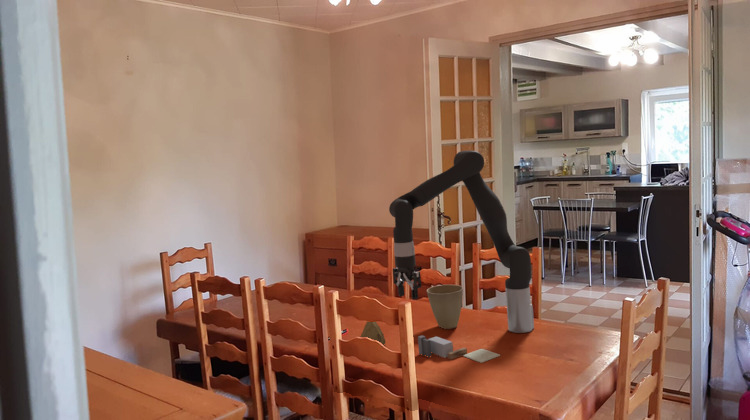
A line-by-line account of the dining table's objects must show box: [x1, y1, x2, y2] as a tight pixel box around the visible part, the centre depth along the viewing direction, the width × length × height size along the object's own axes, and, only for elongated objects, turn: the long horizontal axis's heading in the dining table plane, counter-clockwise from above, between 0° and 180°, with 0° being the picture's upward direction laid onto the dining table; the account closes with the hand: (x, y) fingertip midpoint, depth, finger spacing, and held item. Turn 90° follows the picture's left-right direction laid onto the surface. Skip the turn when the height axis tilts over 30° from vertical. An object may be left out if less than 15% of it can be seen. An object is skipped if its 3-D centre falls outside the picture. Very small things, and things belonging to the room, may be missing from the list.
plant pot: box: [426, 284, 464, 330], centre depth 234 cm, size 15×15×16 cm
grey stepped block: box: [417, 335, 432, 358], centre depth 204 cm, size 2×5×7 cm, turn 33°
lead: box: [427, 335, 454, 359], centre depth 205 cm, size 4×9×5 cm, turn 33°
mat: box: [462, 348, 501, 364], centre depth 199 cm, size 9×9×1 cm
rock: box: [360, 321, 386, 345], centre depth 220 cm, size 11×9×10 cm
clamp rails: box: [447, 347, 468, 360], centre depth 206 cm, size 8×14×2 cm, turn 33°
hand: (408, 297), depth 209 cm, fingers open, 7 cm apart
